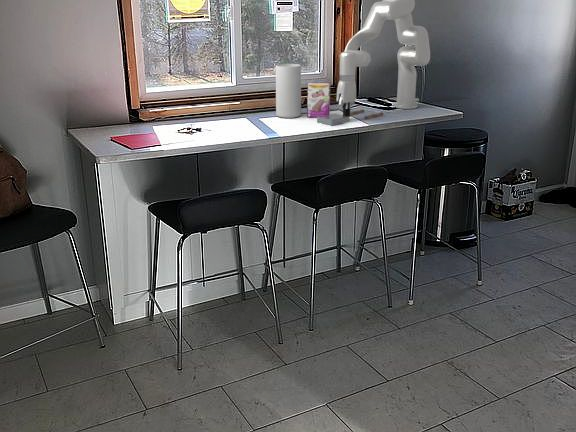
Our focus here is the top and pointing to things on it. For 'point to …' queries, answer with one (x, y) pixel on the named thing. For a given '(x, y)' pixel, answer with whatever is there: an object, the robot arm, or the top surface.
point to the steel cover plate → (333, 119)
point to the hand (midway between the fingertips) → (346, 116)
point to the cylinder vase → (288, 90)
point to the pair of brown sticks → (367, 115)
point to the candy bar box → (318, 99)
